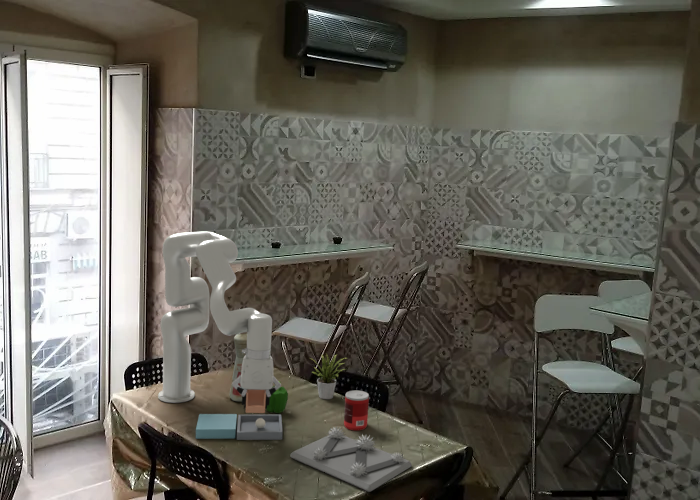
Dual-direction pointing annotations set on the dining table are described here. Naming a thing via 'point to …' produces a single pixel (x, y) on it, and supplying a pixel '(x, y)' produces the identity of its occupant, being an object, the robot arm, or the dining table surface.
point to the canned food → (356, 410)
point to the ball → (260, 423)
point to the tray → (251, 432)
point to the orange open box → (255, 401)
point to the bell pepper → (278, 400)
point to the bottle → (238, 364)
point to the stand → (216, 426)
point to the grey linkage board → (352, 460)
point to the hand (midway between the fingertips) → (255, 406)
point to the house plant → (327, 377)
